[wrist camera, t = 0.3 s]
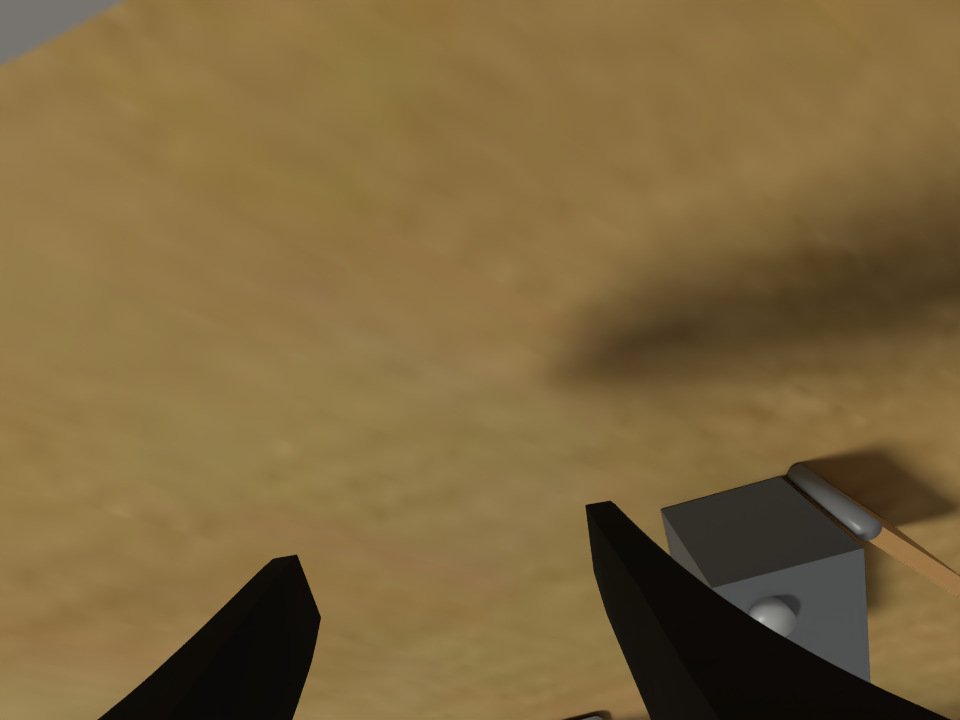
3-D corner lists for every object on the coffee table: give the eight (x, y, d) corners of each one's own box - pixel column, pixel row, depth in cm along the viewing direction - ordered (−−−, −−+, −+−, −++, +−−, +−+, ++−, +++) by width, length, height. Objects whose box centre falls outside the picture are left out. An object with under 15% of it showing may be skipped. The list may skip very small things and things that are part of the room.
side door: (889, 520, 23) (976, 584, 19) (874, 534, 24) (957, 600, 20) (797, 460, 22) (870, 516, 18) (783, 476, 22) (851, 534, 18)
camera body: (799, 636, 26) (885, 746, 21) (694, 663, 26) (752, 778, 21) (780, 476, 23) (878, 559, 17) (660, 509, 23) (719, 600, 18)
